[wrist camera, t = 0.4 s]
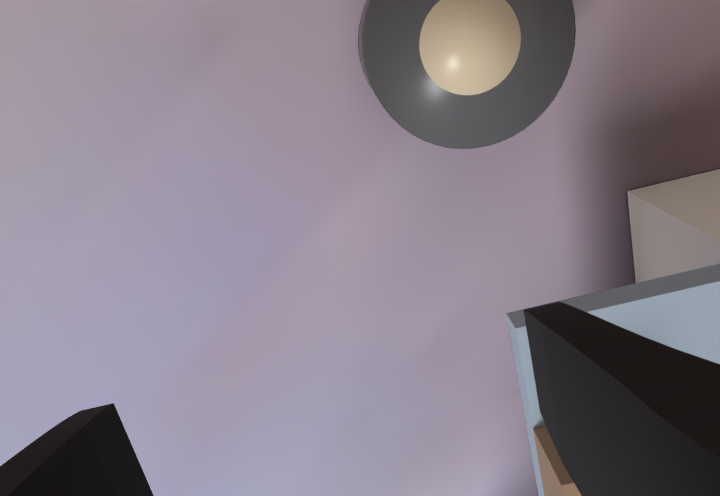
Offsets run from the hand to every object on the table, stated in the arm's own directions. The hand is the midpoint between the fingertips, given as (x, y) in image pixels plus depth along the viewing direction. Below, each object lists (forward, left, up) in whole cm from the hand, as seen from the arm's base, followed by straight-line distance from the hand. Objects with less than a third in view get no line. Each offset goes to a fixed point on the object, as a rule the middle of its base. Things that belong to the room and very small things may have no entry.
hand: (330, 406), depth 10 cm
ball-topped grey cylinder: (+5, -5, -10) cm, 12 cm away
